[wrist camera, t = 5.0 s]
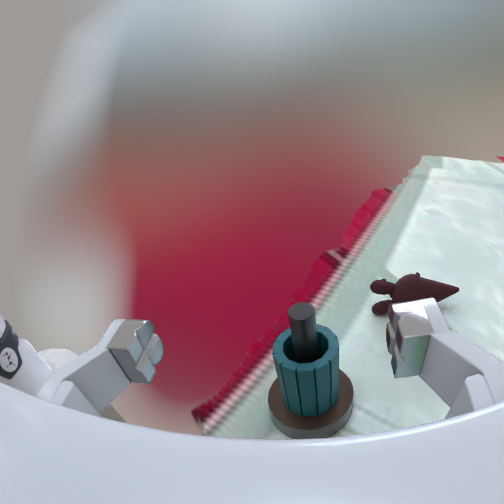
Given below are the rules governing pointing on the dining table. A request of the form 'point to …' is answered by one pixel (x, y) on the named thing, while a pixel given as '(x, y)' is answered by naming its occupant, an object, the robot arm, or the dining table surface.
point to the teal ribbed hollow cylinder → (308, 374)
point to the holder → (307, 352)
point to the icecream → (409, 291)
